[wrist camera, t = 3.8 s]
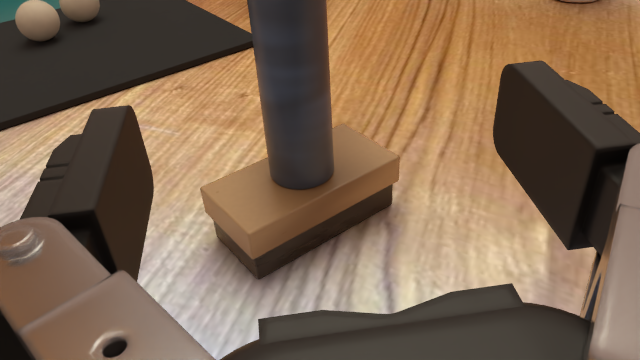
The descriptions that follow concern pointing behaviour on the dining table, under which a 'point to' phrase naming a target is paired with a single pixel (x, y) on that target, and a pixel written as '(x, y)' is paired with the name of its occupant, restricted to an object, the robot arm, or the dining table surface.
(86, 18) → the beige sphere
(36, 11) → the beige ball
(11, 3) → the dustpan
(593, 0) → the pill bottle
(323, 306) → the dining table surface
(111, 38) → the mat
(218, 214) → the brush
